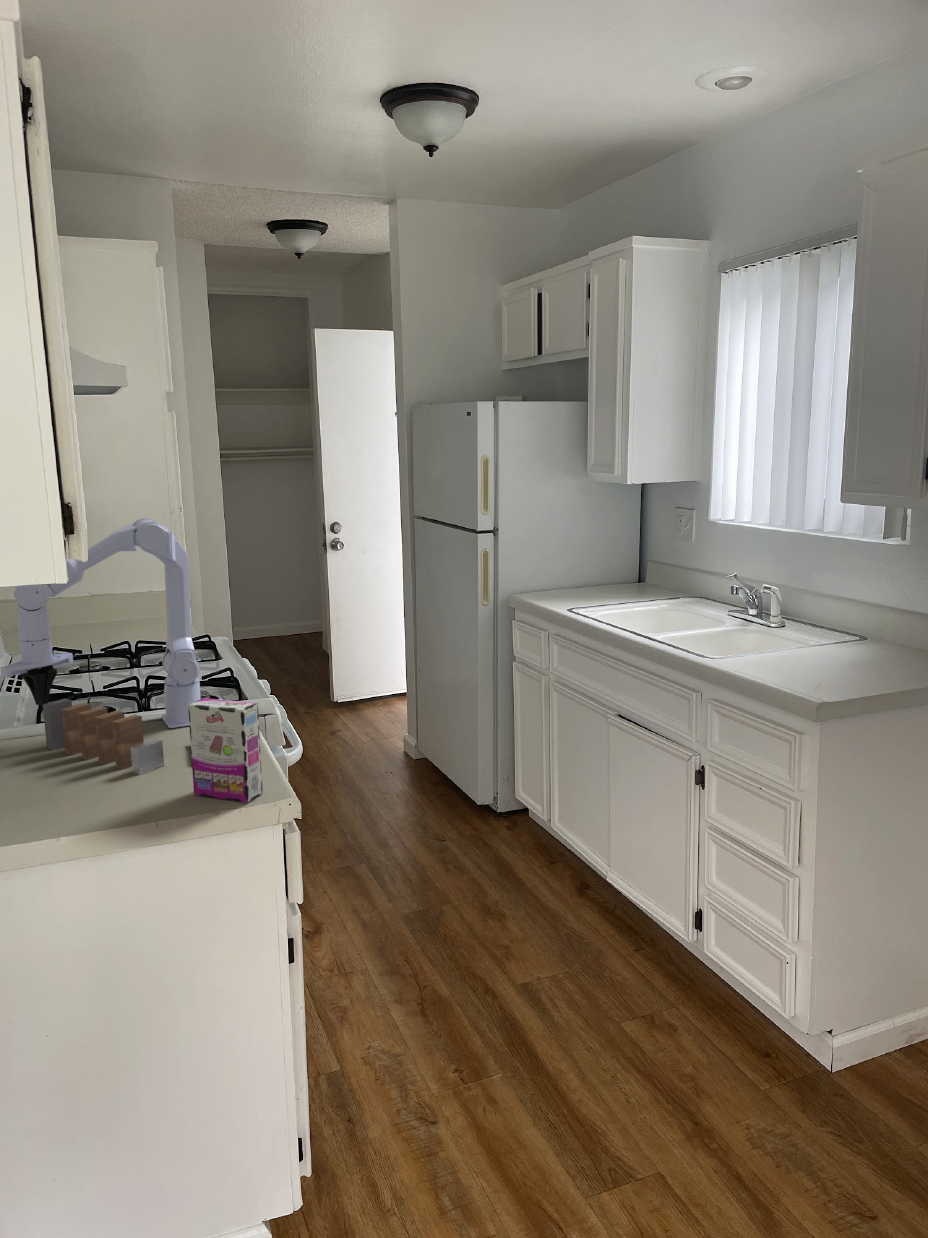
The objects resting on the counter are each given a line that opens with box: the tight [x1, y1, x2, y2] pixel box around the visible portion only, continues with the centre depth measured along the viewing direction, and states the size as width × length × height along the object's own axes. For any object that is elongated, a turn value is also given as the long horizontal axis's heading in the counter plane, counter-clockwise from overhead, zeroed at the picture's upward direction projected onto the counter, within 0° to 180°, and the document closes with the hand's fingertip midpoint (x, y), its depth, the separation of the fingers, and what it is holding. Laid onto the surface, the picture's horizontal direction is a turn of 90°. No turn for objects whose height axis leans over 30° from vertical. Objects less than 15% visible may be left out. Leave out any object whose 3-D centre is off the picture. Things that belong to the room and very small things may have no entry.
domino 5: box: [112, 714, 145, 770], centre depth 174 cm, size 2×5×9 cm, turn 148°
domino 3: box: [78, 706, 109, 761], centre depth 180 cm, size 2×5×9 cm, turn 148°
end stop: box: [131, 738, 165, 776], centre depth 172 cm, size 2×6×5 cm, turn 148°
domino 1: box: [42, 698, 73, 751], centre depth 185 cm, size 2×5×9 cm, turn 148°
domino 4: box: [95, 710, 126, 765], centre depth 177 cm, size 2×5×9 cm, turn 148°
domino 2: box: [62, 702, 92, 756], centre depth 182 cm, size 2×5×9 cm, turn 148°
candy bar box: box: [188, 697, 264, 804], centre depth 159 cm, size 11×5×16 cm, turn 70°
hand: (41, 704), depth 187 cm, fingers closed
